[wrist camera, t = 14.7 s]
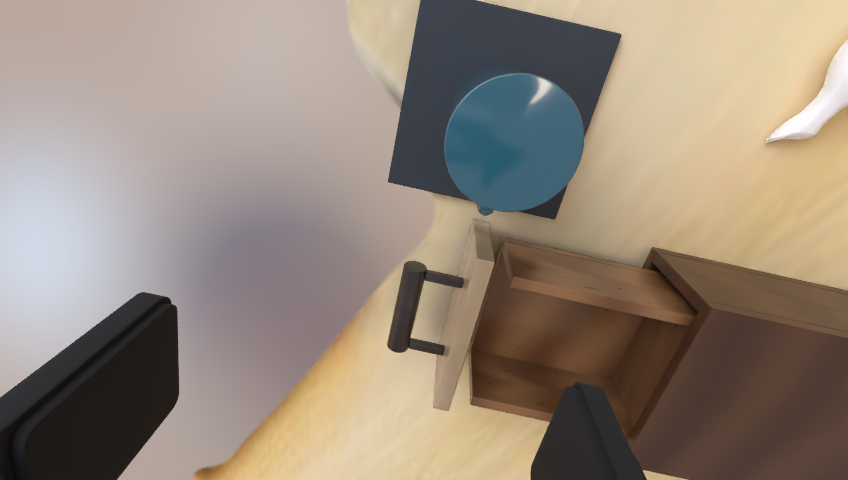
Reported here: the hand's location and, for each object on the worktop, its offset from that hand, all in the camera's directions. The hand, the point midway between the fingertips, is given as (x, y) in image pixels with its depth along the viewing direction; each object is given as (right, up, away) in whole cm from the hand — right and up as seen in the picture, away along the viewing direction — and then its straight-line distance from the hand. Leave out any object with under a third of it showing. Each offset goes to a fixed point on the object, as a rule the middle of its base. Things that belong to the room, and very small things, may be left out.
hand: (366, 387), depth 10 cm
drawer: (+9, -2, +25) cm, 27 cm away
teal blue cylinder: (+6, +12, +20) cm, 24 cm away
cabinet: (+26, -5, +26) cm, 37 cm away
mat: (+6, +12, +20) cm, 25 cm away
